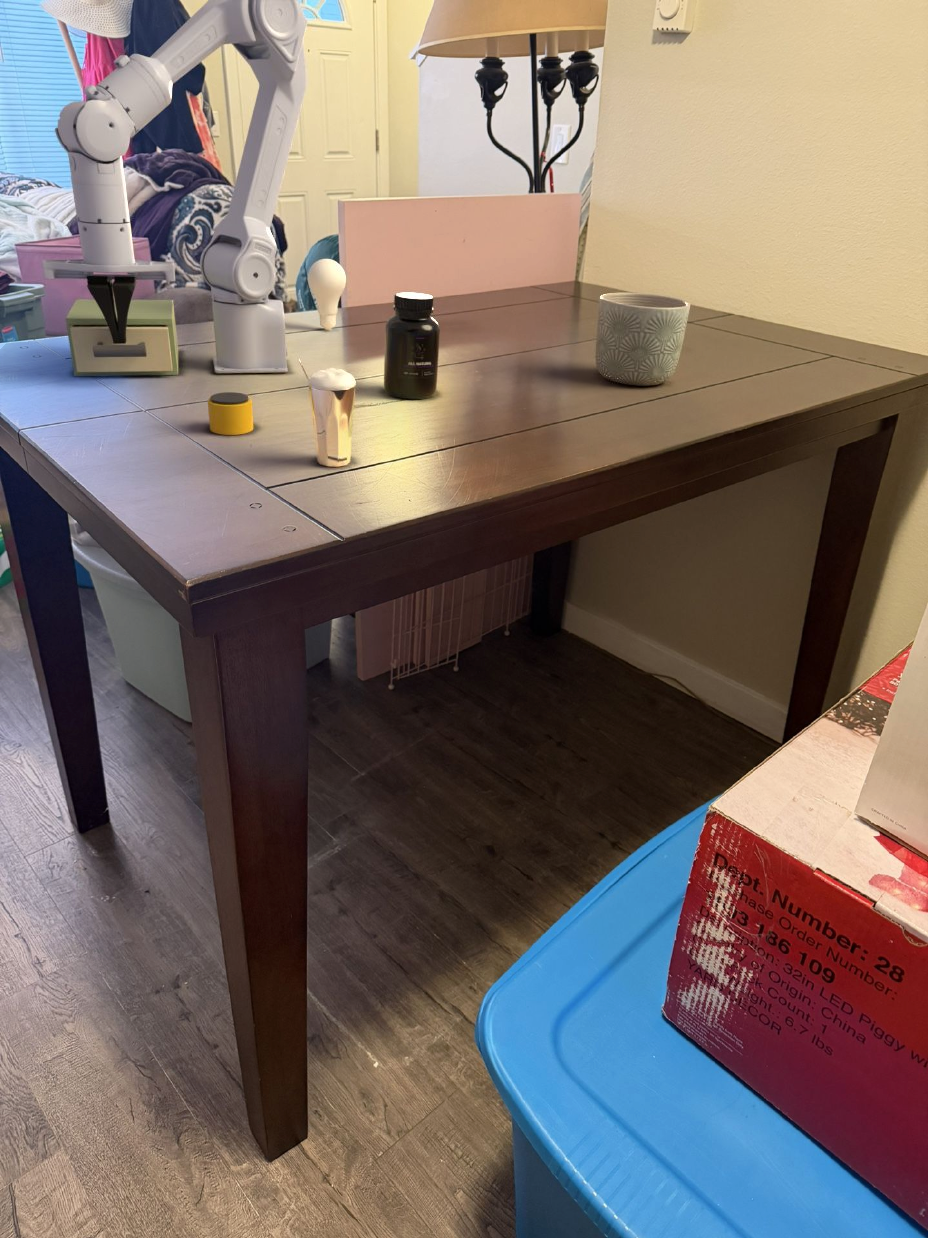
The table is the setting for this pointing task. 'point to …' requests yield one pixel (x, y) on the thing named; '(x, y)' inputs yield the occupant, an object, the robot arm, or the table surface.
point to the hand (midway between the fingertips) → (120, 341)
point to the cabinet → (137, 315)
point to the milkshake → (332, 414)
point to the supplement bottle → (411, 348)
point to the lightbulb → (327, 289)
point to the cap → (230, 413)
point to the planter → (639, 337)
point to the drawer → (121, 349)
